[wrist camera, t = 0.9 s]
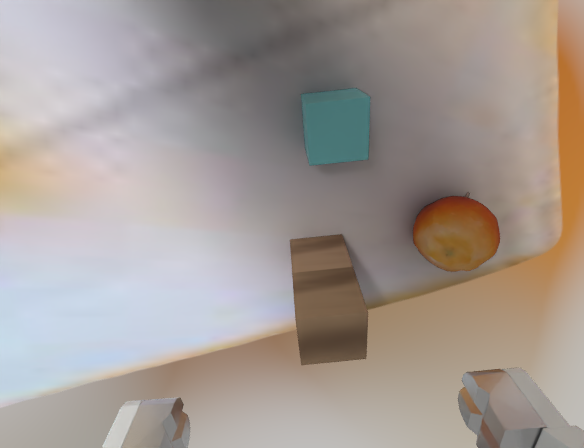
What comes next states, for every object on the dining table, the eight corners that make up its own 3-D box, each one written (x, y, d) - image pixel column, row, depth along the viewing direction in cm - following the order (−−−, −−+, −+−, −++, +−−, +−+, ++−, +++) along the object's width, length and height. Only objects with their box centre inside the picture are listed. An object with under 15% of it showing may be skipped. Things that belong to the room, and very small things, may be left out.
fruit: (502, 234, 36) (501, 286, 30) (427, 234, 40) (415, 280, 35) (498, 171, 32) (496, 219, 27) (416, 179, 36) (400, 222, 31)
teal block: (300, 93, 29) (305, 103, 24) (356, 87, 29) (370, 97, 24) (304, 148, 31) (309, 165, 27) (355, 142, 31) (368, 159, 27)
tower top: (292, 272, 31) (295, 319, 26) (352, 266, 31) (368, 312, 26) (297, 315, 34) (301, 365, 29) (352, 310, 34) (366, 358, 29)
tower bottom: (290, 239, 37) (292, 273, 31) (341, 234, 36) (352, 266, 31) (294, 279, 40) (297, 316, 34) (342, 274, 40) (352, 310, 34)
